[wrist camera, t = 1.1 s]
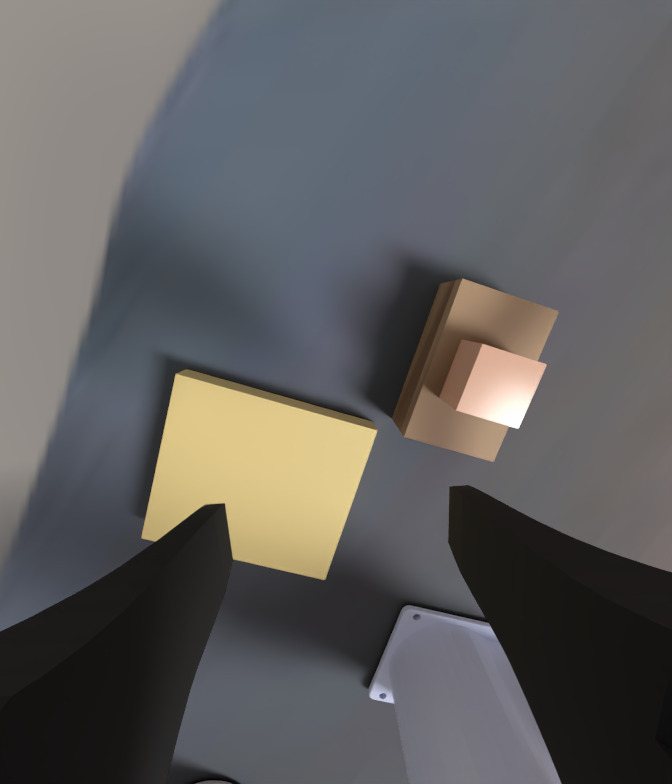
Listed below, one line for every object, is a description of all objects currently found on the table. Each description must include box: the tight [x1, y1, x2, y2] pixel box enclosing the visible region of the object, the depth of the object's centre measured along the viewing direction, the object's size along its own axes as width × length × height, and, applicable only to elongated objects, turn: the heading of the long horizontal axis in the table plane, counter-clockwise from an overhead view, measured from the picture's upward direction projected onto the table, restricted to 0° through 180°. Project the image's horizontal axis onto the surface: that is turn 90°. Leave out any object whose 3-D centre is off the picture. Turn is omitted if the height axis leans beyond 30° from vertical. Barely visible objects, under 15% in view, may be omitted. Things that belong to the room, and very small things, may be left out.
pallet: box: [392, 278, 559, 462], centre depth 18 cm, size 5×8×3 cm, turn 163°
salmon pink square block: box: [439, 340, 547, 429], centre depth 16 cm, size 3×3×2 cm
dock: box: [141, 369, 377, 580], centre depth 20 cm, size 11×10×2 cm
